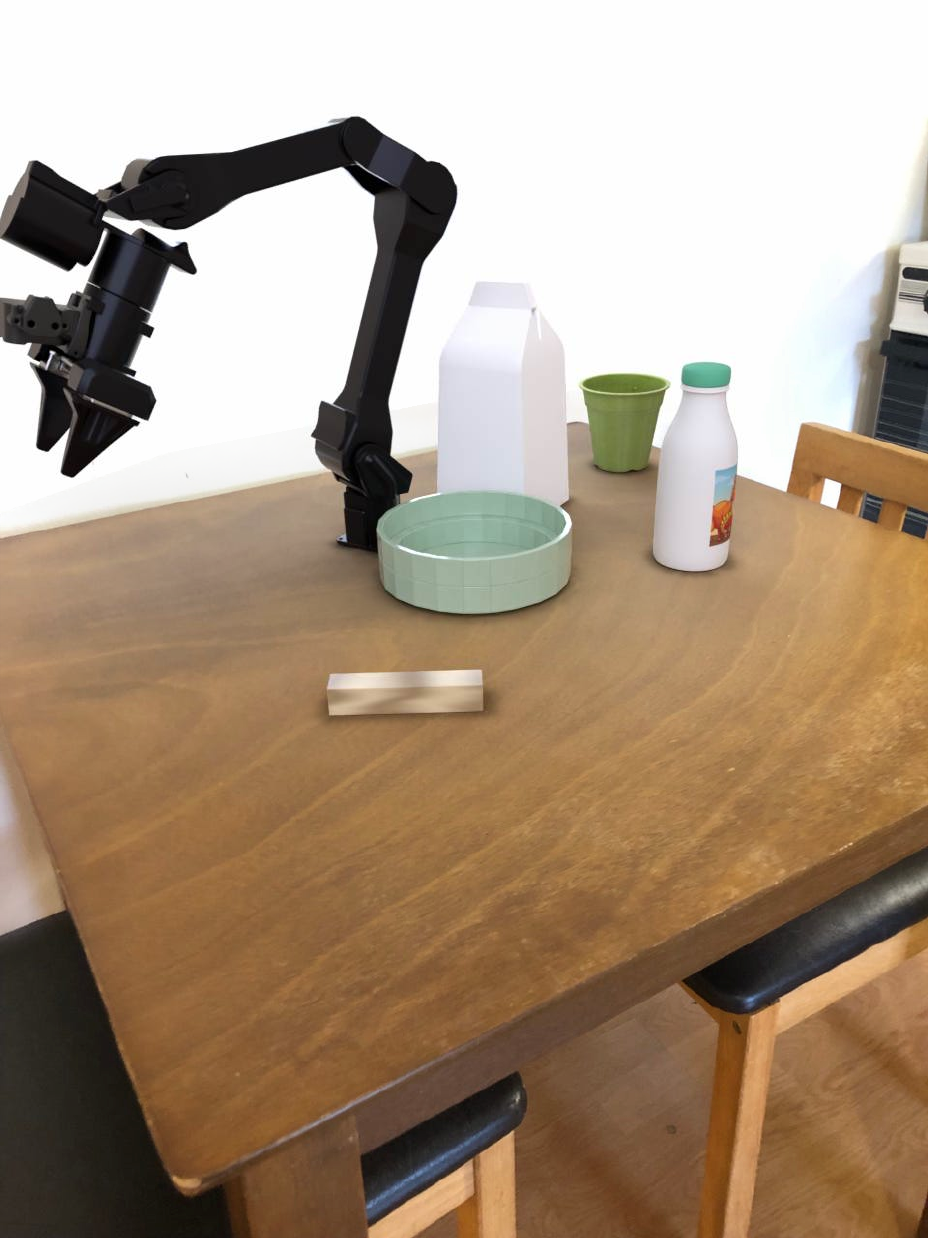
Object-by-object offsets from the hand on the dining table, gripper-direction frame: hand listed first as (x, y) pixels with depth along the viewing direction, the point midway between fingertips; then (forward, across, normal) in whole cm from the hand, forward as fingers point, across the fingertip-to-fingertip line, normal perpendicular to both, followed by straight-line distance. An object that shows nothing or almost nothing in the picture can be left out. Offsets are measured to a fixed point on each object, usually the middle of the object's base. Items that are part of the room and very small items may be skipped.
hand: (53, 462), depth 83 cm
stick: (+4, +33, +21) cm, 40 cm away
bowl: (-6, +16, +37) cm, 41 cm away
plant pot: (-25, -2, +68) cm, 73 cm away
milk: (-14, +1, +50) cm, 52 cm away
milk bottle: (-17, +26, +54) cm, 63 cm away
